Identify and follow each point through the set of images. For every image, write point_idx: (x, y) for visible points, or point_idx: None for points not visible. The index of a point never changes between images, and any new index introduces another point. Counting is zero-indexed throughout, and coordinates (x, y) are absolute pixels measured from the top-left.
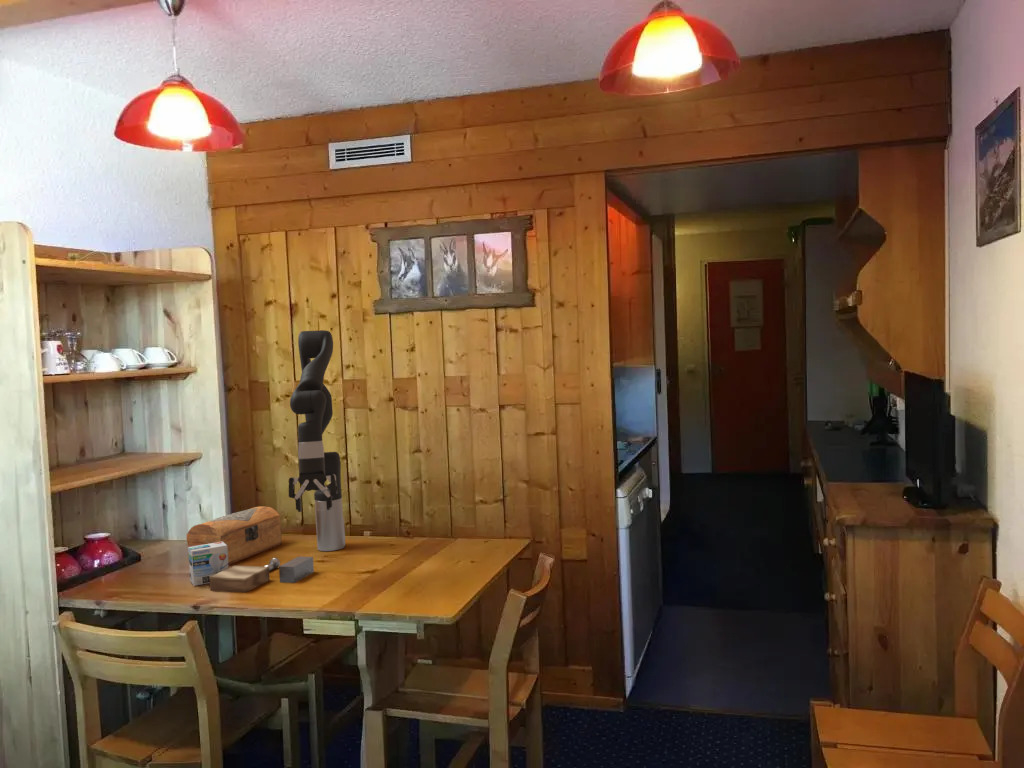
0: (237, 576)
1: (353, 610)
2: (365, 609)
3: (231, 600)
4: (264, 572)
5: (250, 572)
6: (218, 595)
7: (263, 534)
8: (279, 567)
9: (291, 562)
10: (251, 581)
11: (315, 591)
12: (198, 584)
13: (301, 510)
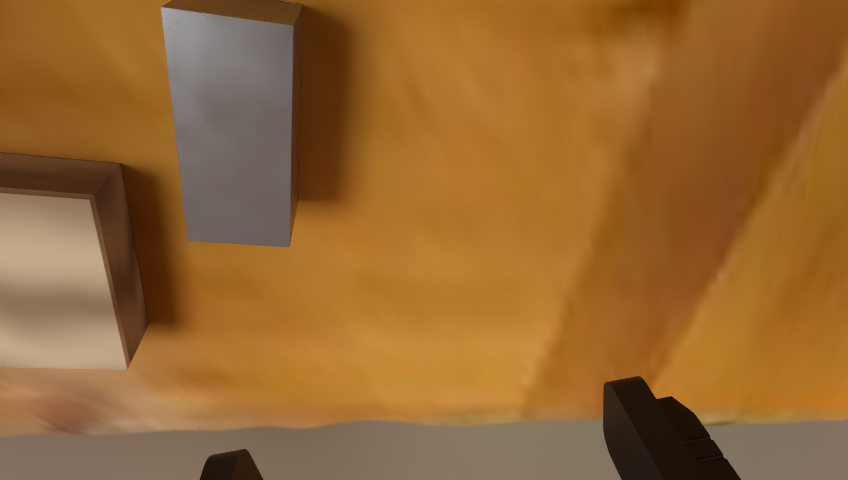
0: (55, 349)
1: None
2: None
3: (166, 392)
4: (105, 227)
5: (67, 294)
6: None
7: None
8: (193, 237)
9: (214, 164)
10: (130, 312)
11: (452, 294)
12: None
13: (251, 474)
